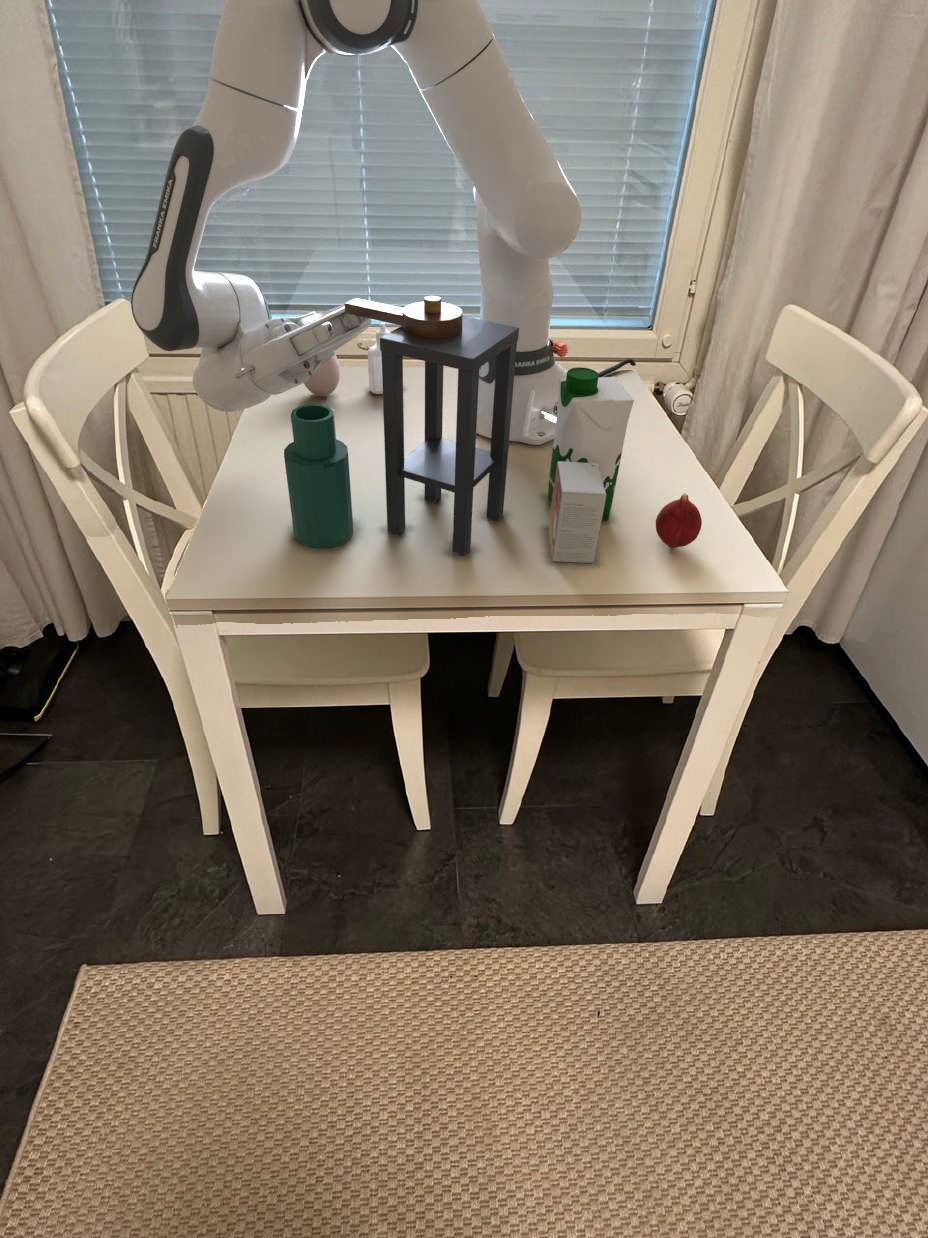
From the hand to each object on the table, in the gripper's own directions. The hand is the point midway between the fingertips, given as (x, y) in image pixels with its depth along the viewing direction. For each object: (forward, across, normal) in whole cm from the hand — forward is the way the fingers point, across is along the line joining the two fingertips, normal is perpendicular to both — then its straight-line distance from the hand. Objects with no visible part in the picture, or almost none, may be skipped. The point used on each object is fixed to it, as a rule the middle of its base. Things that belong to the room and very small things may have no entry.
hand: (351, 318), depth 93 cm
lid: (+7, 0, +3) cm, 8 cm away
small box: (+14, +3, +37) cm, 40 cm away
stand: (-1, 0, +29) cm, 29 cm away
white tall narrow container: (-28, +34, +13) cm, 45 cm away
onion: (+24, +10, +44) cm, 51 cm away
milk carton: (+12, +13, +36) cm, 40 cm away
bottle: (-12, -11, +22) cm, 27 cm away
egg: (-35, +26, +9) cm, 44 cm away
